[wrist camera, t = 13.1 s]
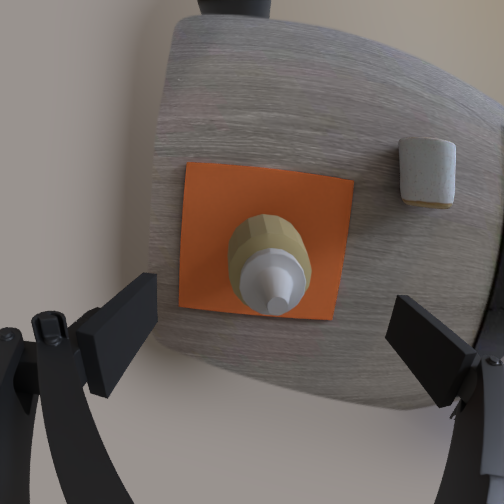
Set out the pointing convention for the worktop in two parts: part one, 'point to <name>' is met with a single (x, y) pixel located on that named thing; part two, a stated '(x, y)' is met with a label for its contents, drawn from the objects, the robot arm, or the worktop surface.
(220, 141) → the worktop surface
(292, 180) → the napkin
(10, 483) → the robot arm
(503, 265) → the worktop surface
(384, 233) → the worktop surface
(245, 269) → the squeeze bottle
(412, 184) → the ceramic mug
